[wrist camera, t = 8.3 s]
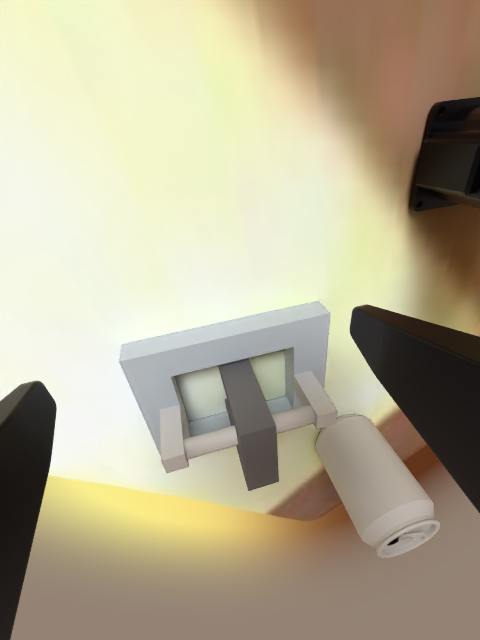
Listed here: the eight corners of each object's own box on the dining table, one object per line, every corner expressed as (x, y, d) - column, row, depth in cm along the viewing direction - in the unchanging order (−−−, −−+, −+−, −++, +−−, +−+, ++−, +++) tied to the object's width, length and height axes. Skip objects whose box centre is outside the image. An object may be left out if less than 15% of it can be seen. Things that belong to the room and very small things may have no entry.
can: (314, 418, 33) (383, 538, 23) (373, 403, 34) (461, 511, 25) (309, 456, 37) (365, 572, 27) (361, 442, 38) (433, 547, 29)
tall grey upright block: (244, 350, 25) (276, 425, 18) (250, 404, 29) (278, 481, 22) (217, 357, 24) (239, 436, 18) (227, 410, 28) (248, 491, 22)
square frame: (318, 300, 24) (364, 347, 19) (312, 404, 31) (344, 459, 26) (121, 344, 22) (111, 412, 17) (163, 445, 29) (165, 515, 24)
